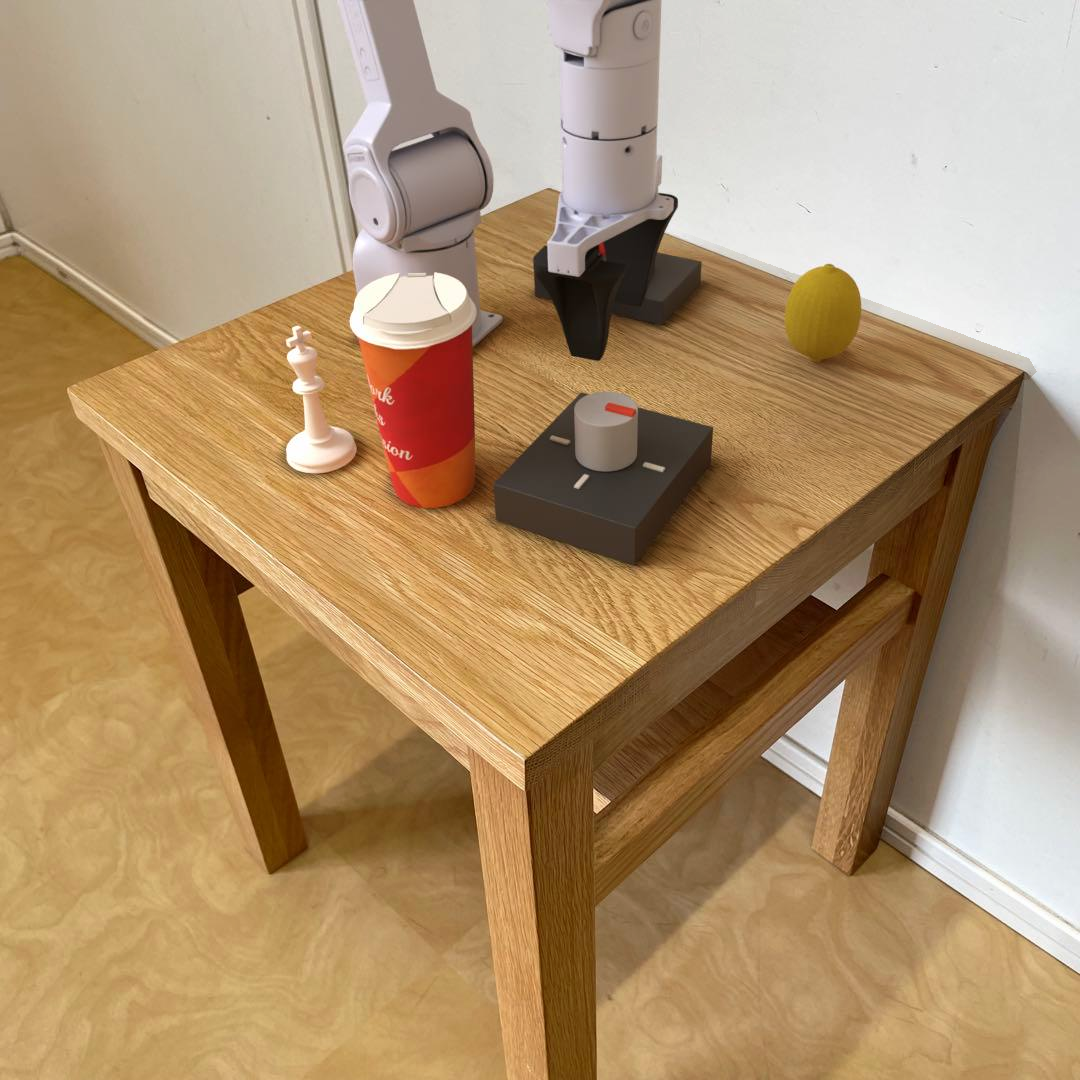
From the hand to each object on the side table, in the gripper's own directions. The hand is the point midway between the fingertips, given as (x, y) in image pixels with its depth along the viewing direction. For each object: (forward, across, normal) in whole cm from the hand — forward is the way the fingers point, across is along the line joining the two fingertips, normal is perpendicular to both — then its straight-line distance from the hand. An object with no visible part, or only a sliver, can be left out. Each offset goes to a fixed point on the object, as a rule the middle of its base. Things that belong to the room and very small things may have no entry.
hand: (608, 328), depth 74 cm
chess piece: (+8, -10, +18) cm, 22 cm away
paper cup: (+8, -10, +9) cm, 16 cm away
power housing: (+8, +20, +7) cm, 23 cm away
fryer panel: (+8, -7, -2) cm, 11 cm away
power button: (+5, +20, +7) cm, 22 cm away
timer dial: (+5, -7, -2) cm, 9 cm away
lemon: (+8, +14, -12) cm, 20 cm away
